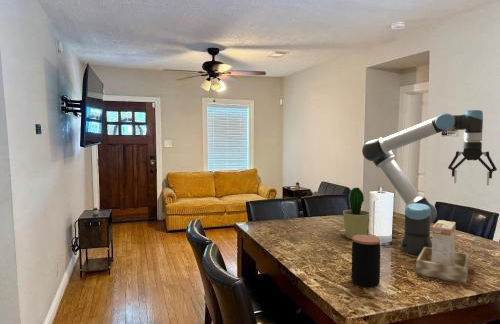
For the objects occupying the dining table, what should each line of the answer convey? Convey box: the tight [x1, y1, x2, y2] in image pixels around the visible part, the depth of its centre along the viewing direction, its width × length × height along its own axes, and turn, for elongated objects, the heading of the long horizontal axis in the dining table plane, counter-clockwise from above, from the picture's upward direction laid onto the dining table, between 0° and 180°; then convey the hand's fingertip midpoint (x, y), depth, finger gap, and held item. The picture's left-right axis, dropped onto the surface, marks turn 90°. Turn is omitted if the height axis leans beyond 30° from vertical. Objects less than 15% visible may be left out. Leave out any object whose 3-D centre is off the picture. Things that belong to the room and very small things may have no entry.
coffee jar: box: [350, 234, 382, 289], centre depth 133 cm, size 11×11×18 cm
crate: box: [415, 247, 470, 285], centre depth 145 cm, size 18×22×6 cm
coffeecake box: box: [431, 219, 457, 266], centre depth 145 cm, size 15×7×20 cm, turn 141°
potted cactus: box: [342, 187, 370, 240], centre depth 195 cm, size 15×15×30 cm
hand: (471, 184), depth 167 cm, fingers open, 13 cm apart
